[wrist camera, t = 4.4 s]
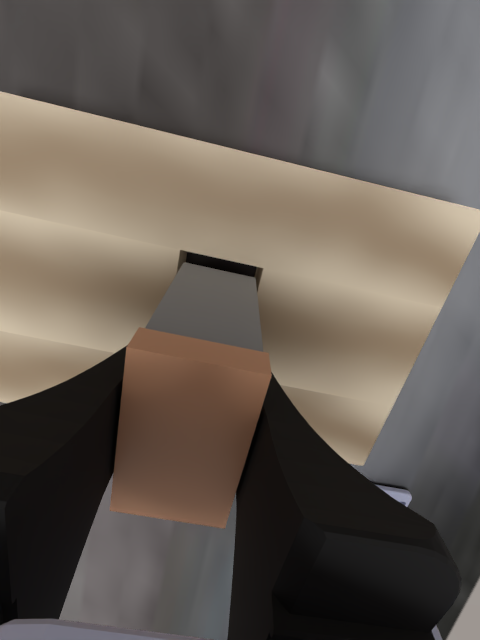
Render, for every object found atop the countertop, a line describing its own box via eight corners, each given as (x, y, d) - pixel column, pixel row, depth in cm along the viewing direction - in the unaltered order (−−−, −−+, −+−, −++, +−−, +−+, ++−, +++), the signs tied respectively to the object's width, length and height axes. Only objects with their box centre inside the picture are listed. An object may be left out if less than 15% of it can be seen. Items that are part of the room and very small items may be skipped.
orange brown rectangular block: (232, 379, 17) (224, 528, 10) (164, 366, 16) (109, 510, 10) (258, 275, 15) (271, 375, 8) (181, 259, 14) (126, 347, 8)
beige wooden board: (348, 428, 22) (363, 465, 20) (26, 369, 21) (-7, 400, 18) (448, 203, 17) (489, 212, 14) (17, 97, 15) (-34, 83, 12)
